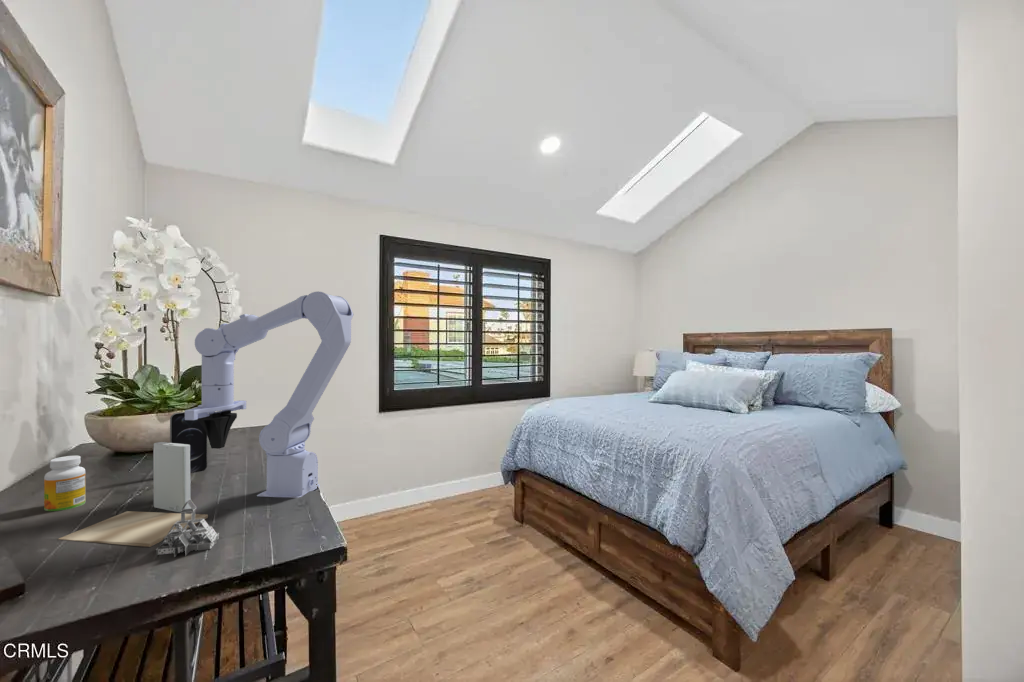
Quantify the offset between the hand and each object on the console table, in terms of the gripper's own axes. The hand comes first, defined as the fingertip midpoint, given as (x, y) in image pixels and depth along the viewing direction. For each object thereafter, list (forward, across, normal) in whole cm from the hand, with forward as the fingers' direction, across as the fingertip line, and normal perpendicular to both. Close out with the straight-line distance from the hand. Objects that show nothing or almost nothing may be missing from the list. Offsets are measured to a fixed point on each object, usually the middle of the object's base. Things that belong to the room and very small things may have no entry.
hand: (217, 447), depth 91 cm
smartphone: (+9, -9, -15) cm, 20 cm away
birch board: (+9, +20, +2) cm, 22 cm away
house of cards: (+10, +27, +16) cm, 33 cm away
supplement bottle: (+9, +13, -20) cm, 26 cm away
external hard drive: (+9, +11, 0) cm, 14 cm away
